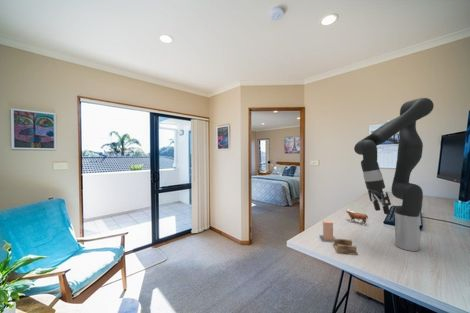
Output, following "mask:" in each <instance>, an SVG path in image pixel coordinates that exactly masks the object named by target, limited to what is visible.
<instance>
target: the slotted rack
mask: <svg viewBox="0 0 470 313" xmlns="http://www.w3.org/2000/svg"><path fill="white" fill-rule="evenodd" d="M332 245H333V248H334V250H335V253H337V254H340V255H348V256H349V255H350V256H359V253H358V252H357V246H356V245H353V240H352V239H343V238H334V243H332Z"/></svg>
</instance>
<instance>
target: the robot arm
mask: <svg viewBox="0 0 470 313" xmlns="http://www.w3.org/2000/svg"><path fill="white" fill-rule="evenodd" d="M434 106H435V105H434V102H433V100H432V99H430V98H428V97H420V98H416V99H412V100H408V101H406V102H404V103H403V104H402V105H401V107H400V109H399V116H397V117H396V118H393V119H391V120H390V121H388V122H386V123H384V124H382V125H381V126H380V127H378V128H376V129H375V130H374V131H373V132H371V133H370V134H369V135H367V136H365V137H364V138H362V139H361V140H358V142H356V144H355V145H354V147H353V149H354V152H355V154H358V155H359V156H360V155H362V160H361V161H360V166H361V170H362V175H363V179H364V183H365V187H366V189H367V192H368V198H369V200H370V202H372V203H373V207H374V210H375V211H381V206H382V211H383V215H387V216H388V215H390V214H391V211H390V207H389V206H391V205H392V203H391V200H390V197H389V196H390V195H389V194H388V192H387V191H385V192H384V191H383V189H385V188H386V184H385V182H384V181H385V180H384V177H383V174H382V172H381V169H380V166H379V163H378V147H377V146H379V145H382V144H383V143H385V142H387V141H389V139H391V138H392V137H393V136H395V135H396V134H397V133H399V139H398V145H397V146H398V147H397V156H396V165H395V171H394V175H393V179H392V183H391V193H392V196H393V197H394V198H397V199H399V200H402V204H401V205H396V206H395V207H394V245H395V246H396V247H398V248H400V249H402V250H405V251H410V252H418V251H419V250H420V249H421V229H420V213H421V211H422V210H423V209H422V208H423V199H424V192H423V189H422V187H421V186H420V185H418V184H415V183H411V182H410V176H411V173H412V171H413V170H414V169H415V167H416V166H417V165H418V164H419V162H420V161H421V159H422V157H423V148H424V144H423V140H422V138H421V137H420V135H419V134H418V131H417V129H416V128H417V127H416V126H417V125H416V124H417V121H418V120H421V119H422V118H424V117H427V116H429V115H430V114H431V113H432V111H433V110H434V108H435V107H434ZM380 205H381V206H380Z"/></svg>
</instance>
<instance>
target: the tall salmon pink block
mask: <svg viewBox="0 0 470 313" xmlns="http://www.w3.org/2000/svg"><path fill="white" fill-rule="evenodd" d="M322 235H323V238H324V240H330V241H333V236H334V223H333V221H332V220H325V219H323V220H322Z"/></svg>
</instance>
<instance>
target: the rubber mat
mask: <svg viewBox="0 0 470 313" xmlns="http://www.w3.org/2000/svg"><path fill="white" fill-rule="evenodd" d="M334 238H335V236H334V235H333V241H330V240H324V238H323V234H322V235H321V234H319V239H320V241H321V242H322V243H332V244H334ZM335 239H336V238H335Z"/></svg>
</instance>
